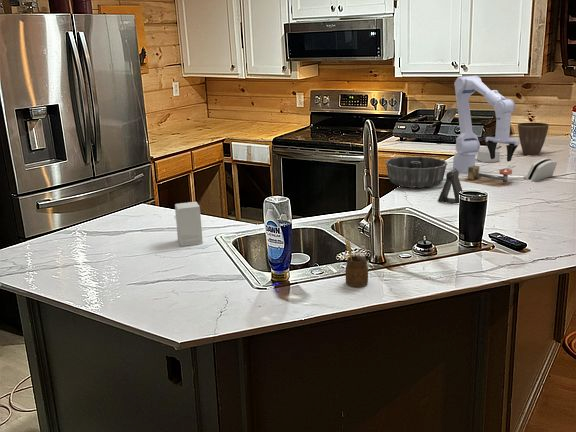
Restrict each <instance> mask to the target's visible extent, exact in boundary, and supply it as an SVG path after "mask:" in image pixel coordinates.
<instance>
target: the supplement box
mask: <svg viewBox="0 0 576 432" xmlns="http://www.w3.org/2000/svg"><path fill="white" fill-rule="evenodd" d="M174 210H175V222H176V232H177V233H176V234H177V241H178V244H179V245H180V247H188V246H195V245H202V244H203V243H204V242H203V233H202V232H203V229H202V218H201V215H202V214H201V206H200V205H199V203H198V202H197V201H188V202H180V203H175V204H174Z"/></svg>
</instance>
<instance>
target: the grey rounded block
mask: <svg viewBox="0 0 576 432" xmlns="http://www.w3.org/2000/svg"><path fill="white" fill-rule="evenodd" d="M557 164H558V162H556V161H555V160H553V159H551V158H546V157H545V158H543V157H542V158H541V159H538V160H537V161H534V163H532V165H531V166H530V168H529V170H528V172H527V174H525V175H524V176H523V177H522V178H523V179H526V180H530V182H536V181H539V180H543V179H546V178H550V177H553V175H554V172H555V170H556V168H557Z"/></svg>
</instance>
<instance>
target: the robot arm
mask: <svg viewBox="0 0 576 432" xmlns="http://www.w3.org/2000/svg"><path fill="white" fill-rule="evenodd" d="M475 92H477V93H479V94H481V95H482V96H483V97H484V98H485V99H484V100H485V102H487V104H489V105H490V106H492V107H493V110H494V113H495V118H496V122H495V134H494V135H495V136H486V137H485V145H486V148H488V149H489V152H490V157H491V159H495V150H496V147H498V144H506V147H505V148H506V162H512V161H511V160H512V158H513V155H514V153H515V151H516V150H517V148H518V147H519V145H520V139H514V138H510V134H511V133H510V132H511V123H512V122H511V119H512V113H513V112H514V111H515V109H516V105H515V101H514V100H513V99H512V98H506V97H505V96H503V95H502V94H500V93H499V91H498V90H497V89H492V90H491V89H490V88H489V87H488V86H487V85H486V84H485V83H484V82H482V78H481V77H479V76H478V75H469V76H458V77H457V78H456V80H454V93H455V100H456V108H457V116H458V124H459V132H460V133H459V135H458V136H457V137H456V139H455V151H456V152H457V153H455V154H454V156H453V160H452V170H454V171H455V170H458V172H459V173H462V174H468V167H471V166H476V156H477V152H478V151H479V149H481V144H480V141H479V137H478V135H477V134H476V133H474V131H473V124H472V115H471V109H470V108H471V106H470V100H469V98H470V97H471V95H473V94H474V93H475Z"/></svg>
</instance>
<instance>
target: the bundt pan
mask: <svg viewBox="0 0 576 432" xmlns="http://www.w3.org/2000/svg"><path fill="white" fill-rule="evenodd" d="M447 162H448V161H446V160H443V159H441V158H436V157H432V156H431V157H430V156H420V155H419V156H418V155H417V156H412V155H411V156H409V155H407V156H397V157H392V158H389V159H388V160H385V165H386V170H387V178H388V179H389V181H390V182H391V183H393V184H394V185H395V186H397V187H403V188H408V187H410V188H411V189H413V188H418V189H421V188H426V189H427V188H430V187H435V186H437V185H438V184H440V183H442V182H443V180H444V178H445V173H446V168H447V166H448V163H447Z"/></svg>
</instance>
